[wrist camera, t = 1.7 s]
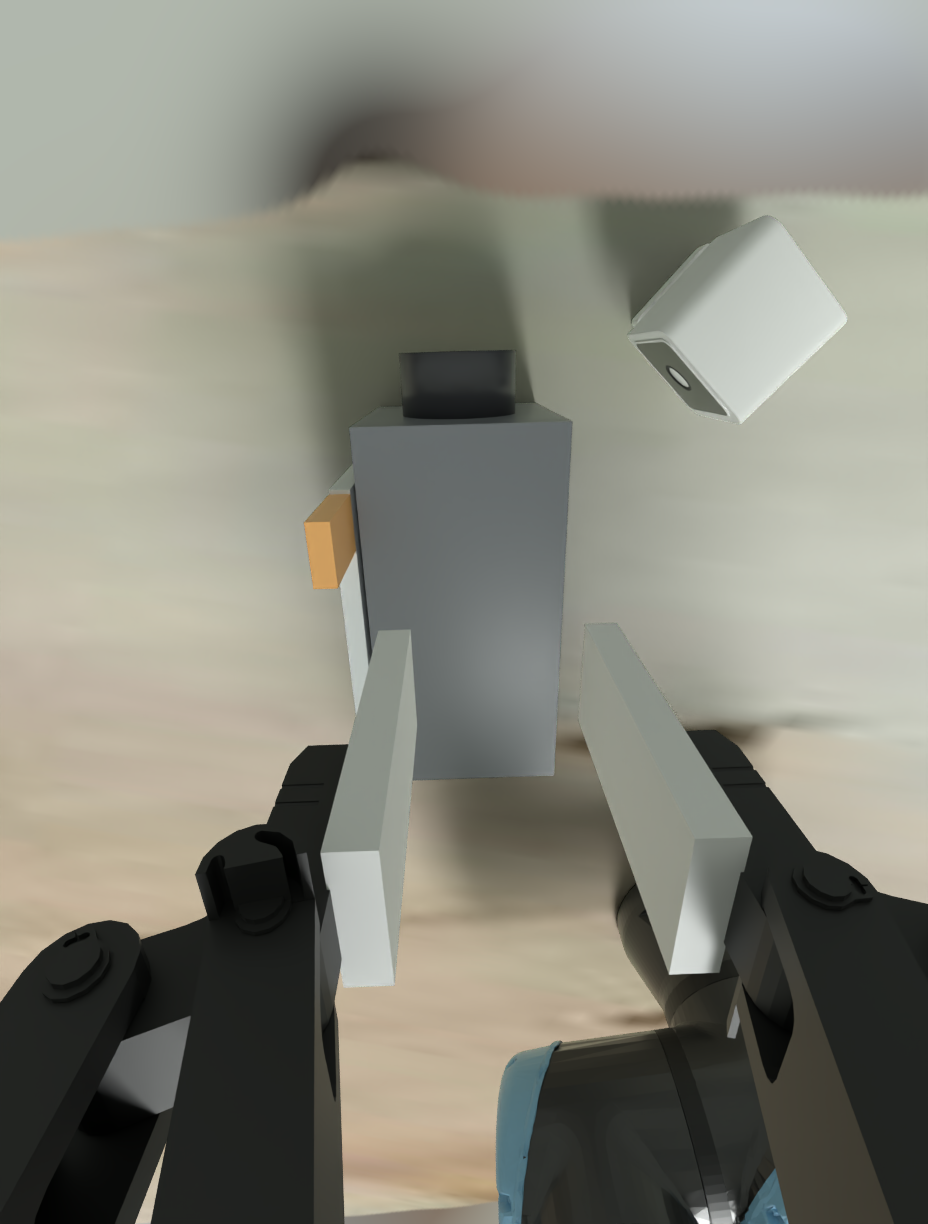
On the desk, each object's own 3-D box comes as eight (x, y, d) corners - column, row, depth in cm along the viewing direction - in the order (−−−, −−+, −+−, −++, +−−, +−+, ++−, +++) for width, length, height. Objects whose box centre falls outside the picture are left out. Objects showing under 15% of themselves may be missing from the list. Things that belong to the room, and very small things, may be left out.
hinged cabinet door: (394, 652, 43) (365, 807, 28) (379, 653, 43) (342, 808, 28) (377, 453, 37) (329, 516, 22) (360, 453, 37) (300, 517, 22)
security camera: (606, 337, 35) (661, 330, 26) (695, 238, 33) (790, 192, 24) (671, 410, 37) (744, 427, 28) (759, 321, 35) (870, 307, 26)
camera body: (528, 672, 44) (554, 775, 34) (401, 677, 44) (385, 781, 33) (536, 351, 35) (576, 347, 24) (375, 355, 35) (341, 353, 24)
